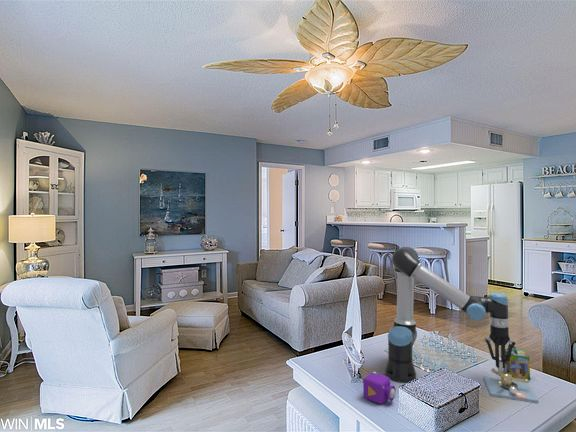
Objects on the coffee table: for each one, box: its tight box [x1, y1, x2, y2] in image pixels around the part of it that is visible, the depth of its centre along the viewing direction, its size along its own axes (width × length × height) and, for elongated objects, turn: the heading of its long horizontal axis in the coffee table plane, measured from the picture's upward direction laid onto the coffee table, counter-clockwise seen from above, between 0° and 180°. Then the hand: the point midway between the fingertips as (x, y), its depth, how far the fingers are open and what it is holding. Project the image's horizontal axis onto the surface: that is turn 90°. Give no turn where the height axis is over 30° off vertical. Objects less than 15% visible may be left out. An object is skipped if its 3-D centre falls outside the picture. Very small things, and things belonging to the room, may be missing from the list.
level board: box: [482, 376, 540, 404], centre depth 157 cm, size 18×17×2 cm
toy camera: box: [362, 371, 397, 405], centre depth 150 cm, size 11×14×10 cm
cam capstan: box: [490, 368, 530, 394], centre depth 157 cm, size 16×17×6 cm
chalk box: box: [503, 345, 531, 380], centre depth 172 cm, size 9×9×15 cm
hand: (500, 374), depth 163 cm, fingers closed
